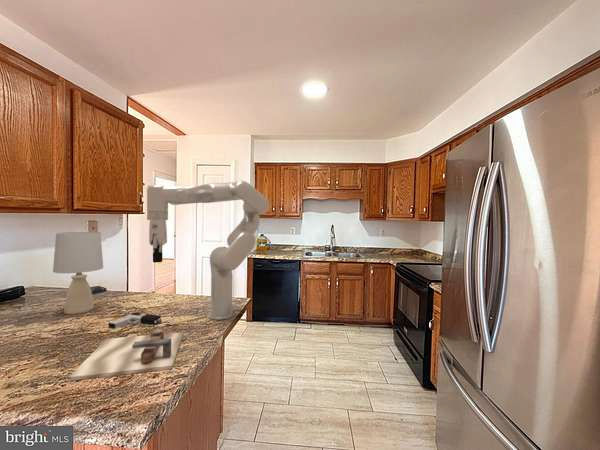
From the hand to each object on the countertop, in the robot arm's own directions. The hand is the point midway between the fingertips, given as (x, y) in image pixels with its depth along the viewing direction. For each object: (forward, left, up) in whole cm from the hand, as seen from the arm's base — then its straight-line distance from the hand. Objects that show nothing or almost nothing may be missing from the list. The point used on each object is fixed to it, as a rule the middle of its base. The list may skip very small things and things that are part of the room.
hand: (157, 261), depth 112 cm
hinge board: (+2, +21, -27) cm, 34 cm away
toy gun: (+9, -6, -28) cm, 30 cm away
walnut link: (-3, +22, -25) cm, 34 cm away
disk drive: (+50, -65, -28) cm, 87 cm away
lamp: (+40, -31, -27) cm, 58 cm away
